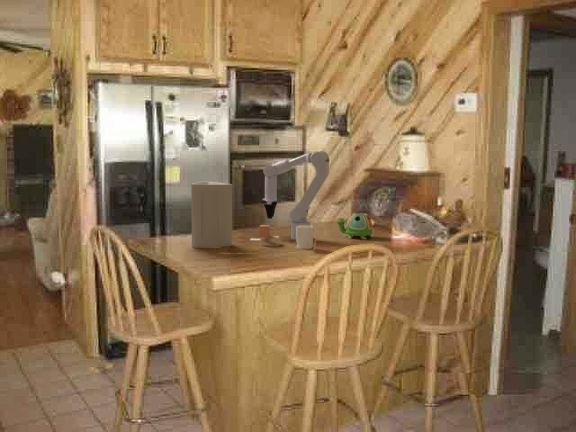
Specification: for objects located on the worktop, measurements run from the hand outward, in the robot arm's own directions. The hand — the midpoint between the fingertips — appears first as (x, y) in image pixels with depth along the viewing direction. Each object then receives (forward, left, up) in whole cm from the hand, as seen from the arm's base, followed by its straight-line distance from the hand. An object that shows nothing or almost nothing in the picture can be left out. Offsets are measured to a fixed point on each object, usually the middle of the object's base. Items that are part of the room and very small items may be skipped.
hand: (270, 217), depth 291 cm
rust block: (0, +22, -6) cm, 23 cm away
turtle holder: (-42, -7, -10) cm, 44 cm away
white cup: (-18, +27, -10) cm, 34 cm away
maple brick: (-2, +22, -9) cm, 24 cm away
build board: (0, +17, -10) cm, 19 cm away
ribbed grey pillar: (+26, +25, -10) cm, 37 cm away
